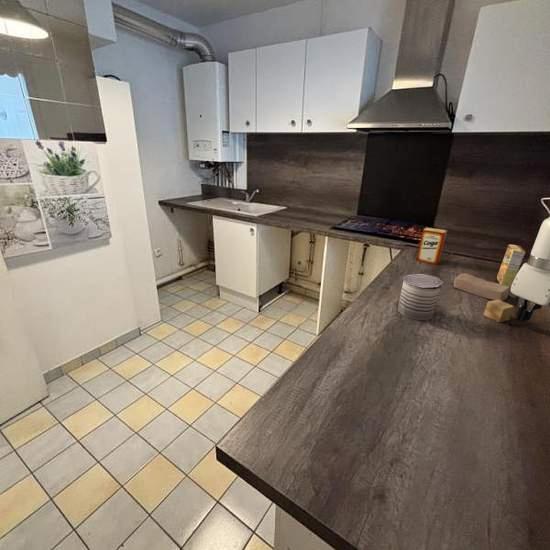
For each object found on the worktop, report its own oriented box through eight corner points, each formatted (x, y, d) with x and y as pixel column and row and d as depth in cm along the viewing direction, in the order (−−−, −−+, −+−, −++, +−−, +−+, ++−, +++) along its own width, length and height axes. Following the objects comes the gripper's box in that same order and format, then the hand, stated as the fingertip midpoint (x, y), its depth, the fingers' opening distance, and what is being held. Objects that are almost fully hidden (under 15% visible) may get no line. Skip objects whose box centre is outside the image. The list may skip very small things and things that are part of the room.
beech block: (509, 319, 94) (514, 306, 92) (498, 322, 92) (503, 308, 90) (493, 312, 98) (498, 299, 96) (483, 315, 96) (487, 301, 94)
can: (427, 324, 90) (436, 289, 85) (391, 311, 97) (398, 278, 93) (438, 311, 98) (447, 278, 93) (404, 300, 105) (410, 269, 100)
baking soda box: (416, 260, 145) (422, 229, 139) (419, 257, 150) (426, 226, 144) (436, 264, 140) (444, 232, 134) (439, 261, 145) (447, 229, 138)
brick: (507, 296, 109) (511, 285, 107) (500, 303, 104) (505, 291, 102) (460, 282, 121) (463, 272, 119) (451, 287, 116) (454, 277, 114)
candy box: (496, 277, 126) (507, 244, 120) (508, 279, 124) (520, 245, 118) (500, 285, 119) (512, 249, 113) (512, 287, 117) (526, 251, 111)
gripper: (587, 271, 76) (558, 330, 83) (524, 253, 89) (504, 306, 96) (570, 274, 73) (542, 335, 80) (508, 256, 86) (488, 310, 93)
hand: (521, 319), depth 88 cm, fingers closed
